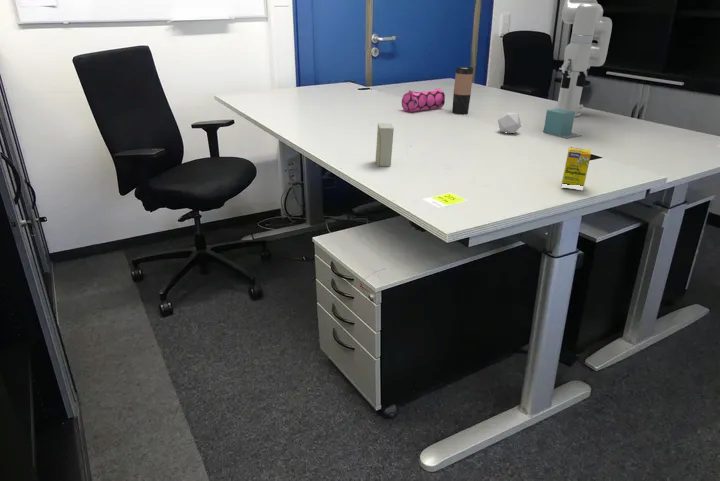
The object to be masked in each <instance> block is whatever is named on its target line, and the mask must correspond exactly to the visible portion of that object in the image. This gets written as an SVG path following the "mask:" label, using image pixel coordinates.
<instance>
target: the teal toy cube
mask: <svg viewBox="0 0 720 481" xmlns="http://www.w3.org/2000/svg"><path fill="white" fill-rule="evenodd" d="M544 119H545V120H544V125H543V129H542V130H543V133H545V134H546V132H547V133H551V134H555V135H559V136H561V135H566V134H571V133H573V132H572V130H573V127H574V126H573V125H574V121H575V112H574V111H569V110H564V109H559V108H558V109H557V108H553V109H547V110H546V114H545V118H544Z"/></svg>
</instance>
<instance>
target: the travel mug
mask: <svg viewBox="0 0 720 481" xmlns="http://www.w3.org/2000/svg"><path fill="white" fill-rule="evenodd" d="M473 75H474V67H471V66H460V67H458V66H456V68H455V77H454V85H453V95H452V96H453V97H452V111H451V112H452V114H455V115H468V113H469V107H470V103H471V102H470V101H471V96H472V95H471V94H472V86H473V77H474V76H473Z"/></svg>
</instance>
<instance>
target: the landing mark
mask: <svg viewBox="0 0 720 481" xmlns="http://www.w3.org/2000/svg"><path fill="white" fill-rule="evenodd" d="M545 134H547V135H552V136H554V137H557V138H559V137H560V138H563V139H572V138H576V137H581V136H582V134H579V133H574V132H571V134H566V135H561V136H559V135H555V134H551V133H547V132H546V133H545Z"/></svg>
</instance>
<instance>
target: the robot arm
mask: <svg viewBox="0 0 720 481" xmlns="http://www.w3.org/2000/svg"><path fill="white" fill-rule="evenodd" d="M603 14H604V9H603V6H602V5H601V4H599V3H598V1H597V0H564V3H563V7H562V13H561V19H562V21H563V23H565V24H566V25H567V24H568V25H572V32H571V37H570V42H569V44H567V45H566V47H565V49H564V57H563V58H564V59H563V60H564V61H563V64H562V65H561V76H562V77H561V83H560V88H559V93H558V100H557V104H556V105H557V106H556V109H558V108H559V109H564V110H569V111H574V112H575V117H576V118H577V117H580V116H582V112H580V111H579V110H581V109H583V108H584V105H583V104H581V97H582V92H583V88H584V86H585V84H586V78H587V76H588V73H589V71H590V68H591V67H601V66H604V64H605V62H606V58H607V55H608V49H609V44H610V39H611V34H612V28H613V22H612V21H613V20H612V19H611V18H610V17H607V16H603ZM593 41H597V43H595V42H593ZM575 117H574V118H575Z"/></svg>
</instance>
